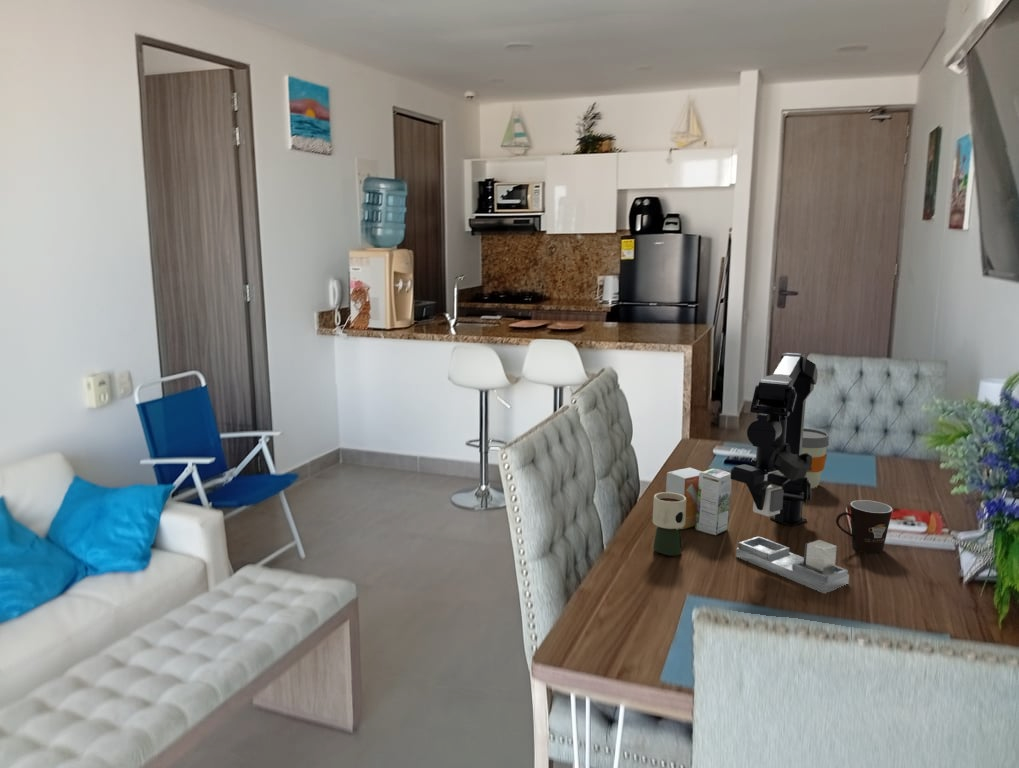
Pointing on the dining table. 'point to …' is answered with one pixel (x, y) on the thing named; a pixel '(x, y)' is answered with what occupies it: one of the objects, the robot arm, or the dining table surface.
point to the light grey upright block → (771, 501)
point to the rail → (797, 562)
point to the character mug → (668, 522)
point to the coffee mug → (868, 525)
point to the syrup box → (713, 501)
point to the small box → (685, 491)
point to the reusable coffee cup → (815, 452)
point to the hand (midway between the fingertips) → (766, 507)
